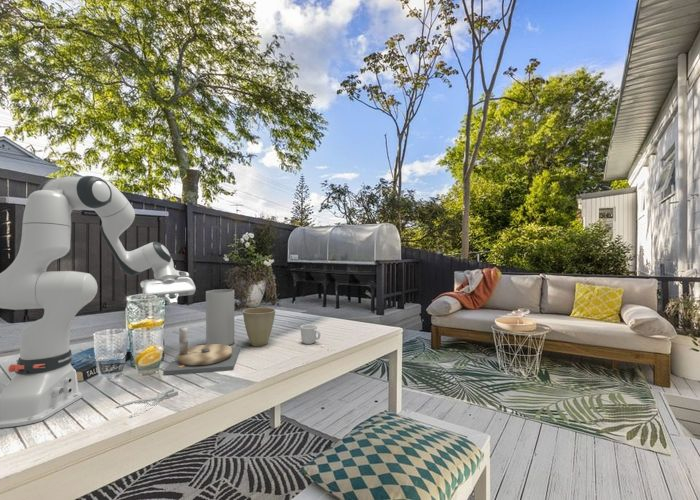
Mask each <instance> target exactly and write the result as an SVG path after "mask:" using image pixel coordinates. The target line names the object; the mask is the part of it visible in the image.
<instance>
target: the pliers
mask: <svg viewBox="0 0 700 500" xmlns="http://www.w3.org/2000/svg"><path fill="white" fill-rule="evenodd" d="M176 396H179V390H175V388H173V387H172V388H170V389H168V390H164V391H162V392H160V393H158V394H157V396H154V397H148V398H147V397H146V398H140V399H135V400H132V401H128V402H125V403H122V404H119V405H117V406H115V409H116V408H117V409H119V407H120V408H122V406H123V407H125V406H130V405H134V404H133V403H135V404H136V403H139V404H140V403H144V404H146V405H145V407H146V406H147V405H148V404H149V403H150V402H149V401H148V400H152V403H150V404H149V405H148V406H151V405H152V406H155V405H156V406H157V405H158V404H159V403H160V401H161V402H162V401H164V400H163V399H165V400H168V399H170V398H173V397H176ZM142 401H146V402H148V403H145V402H142ZM157 403H158V404H157ZM140 405H141V404H140ZM148 406H147V407H148ZM156 406H155V407H156ZM145 407H144V408H145ZM133 414H134V415H135V414H137V412H135V413H133ZM133 414H131V415H129V416H132V415H133Z"/></svg>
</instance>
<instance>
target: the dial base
mask: <svg viewBox="0 0 700 500" xmlns="http://www.w3.org/2000/svg"><path fill="white" fill-rule="evenodd" d="M230 347H231V348H232V355H231V356H230V357H229V358H228V359H226V360H223V361H220V362H217V363H213V364H207V365H184V364H181V363H179V362H178V354H177V355H176V356H175V357H174V358H173V360H171V361H170V363H169V364H168V365H167V366H166V367H165V369H164V370H163V371H162V372H163V373H162V374H163V376H170V375H183V374H194V373H195V374H197V373H210V372H219V371H220V372H223V371H233V370H234V369H235V366H236V363H237V361H238V358H239V354H240V352H241V351H240V350H241V346H230Z"/></svg>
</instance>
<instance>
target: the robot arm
mask: <svg viewBox="0 0 700 500" xmlns="http://www.w3.org/2000/svg"><path fill="white" fill-rule="evenodd" d="M91 209H93V210H94V212H95V213H96V215H98V217H99V218H100V220H101V225H100V226H99V230H100V233H101V236H102V238H103V240H104V241H105V243H106V245H107V247H108V249H109V250H110V252H111V254H112V255H113V256H114V258H115V260H116V262H117V264H118V266H119V268H120V270H121V271H122V273H124V275H127V276H133V277H135V276H137V275H139V274H141V273H143V272H144V271H146V270H149V269H152V271H153V277H154V278H153V279H152V278H151V279H144V280H142V281H140V283H139V285H140V288H141V289H142V295H143V294H157V296H158V297H160V298H159V299H164V301H166V302H167V303H168V305H169V306H172V305H173V306H174V305H178V303H179V302H178V301H179V300H178V299H179V298H178V297H183V296H185V297H186V296H193V295H195V293H196V284H195V282H194V281H193V279H192V278H191V277H190V274H189V272H187V271H181V270H178V269H176V268H175V267H174V266H175V264H174V260H173V258H172V256H171V255H172V254H171V253H170V250H169V248H167V246H166V245H165V244H163V243H160V242H158V241H152V242H149V243H147V244H145V245H142V246H140V247H138V248H136V249H133V250H130V251H129V250H126V249H125V247H124V246H123V243H122V241H121V240H120V236H121V235H122V234H123V233H124V232H125V231H126V230H128V229H129V227H130V226H132V224H133V222H134V221H135V217H136V211H135V209H134V207H133V206H132V204H131V202H130V201H129V200H128V198H127V197H126V196H125V195H124V194H123V192H121V190H119V189H118V188H117V187H116V186H115V185H114V184H113V183H112V182H110V181H109V180H106V179H103V178H102V177H98V176H92V175H84V176H71V175H70V176H64V177H59V178H51V179H50V178H49V179H47V180H45V181H43V182H41V183H40V184H39V185H38V188H37V189H36V190H34V191H33V192H31V193H30V194H29V195H28V197H27V200H26V204H25V206H24V211H23V215H22V227H21V239H20V247H19V250H18V253H17V255H16V257H15V258H14V260H13V261H12V263H10V264H9V266H7V268H6V269H5V270H3V271H2V272H0V309H3V310H5V309H6V310H15V311H16V310H17V311H18V310H34V309H35V310H36V309H43V311H44V313H43V315H42V317H41V318H40V319H37V320H35V321H32V322H31V323H29V324H27V325H26V326H24V327H23V328H22V330H21V332H20V333H19V358H18V359H17V362H16V364H13V363H12V364H10V365H9V366H8V368H7V371H8V372H9V373H13V372H15V374H14V376H13V377H12V379H11V380H10V381H9V382H8V384H7V385H6V386H5V387H4V389H3V390H2V392H1V393H0V429H2V428H12V427H19V426H26V425H30V424H35V423H39V422H42V421H44V420H46V419H48V418H49V417H51V416H53V415H55V414H56V413H58V412H60V411H61V410H63V409H65V408H66V407H68V406H70V405H71V404H73V403H76V402H77V401H79V399H82V398H83V397H84V394H83V392H81V391H79V383H78V376H77V371H76V369H75V368H74V367H73V365H72V364H71V362H72V360H73V359H72V358H73V354H72V349H71V348H70V339H71V338H70V336H71V326H72V323H73V320H74V319H75V317H76V315H77V314H78V313H79V312H80V311H81V310H82V309H83V308H84V307H85V306H86V305H88V304H89V303H91V302H92V301H93V299H94V298H95V297H96V295H97V293H98V283H97V279H96V278H95V277H94V276H93V275H92V274H91V273H88V272H83V271H75V270H61V271H59V270H58V271H57V270H56V271H54V270H53V271H51V270H50V271H47V269H48V267H49V266H50V264H51V263H52V262H54V261H56V260H59V259H60V258H64V257H65V256H66V255H67V254H68V253H69V252H70V251H71V242H72V241H71V236H72V235H71V234H72V216H71V215H72V213H73V211H84V210H85V211H86V210H91Z"/></svg>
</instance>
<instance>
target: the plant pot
mask: <svg viewBox="0 0 700 500" xmlns="http://www.w3.org/2000/svg"><path fill="white" fill-rule="evenodd" d="M275 313H276V309H275V308H271V307H252V308H246V309H243V310H242V317H243V320H244V321H243V323H244V327H245V330H246V335H247V338H248V341H249V343H250V345H251V346H254V347H261V346H265V345H268V342H269V339H270V337H271V332H272V330H273V325H274V323H275V317H276V316H275V315H276V314H275Z"/></svg>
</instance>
